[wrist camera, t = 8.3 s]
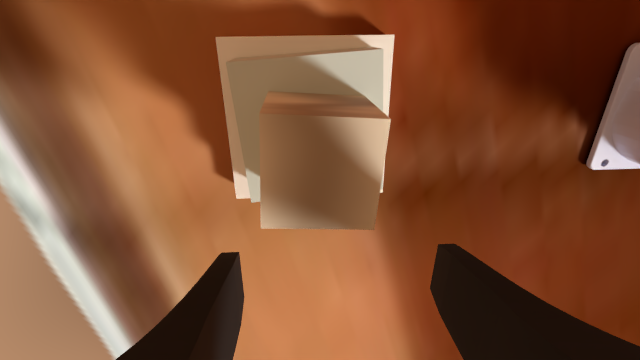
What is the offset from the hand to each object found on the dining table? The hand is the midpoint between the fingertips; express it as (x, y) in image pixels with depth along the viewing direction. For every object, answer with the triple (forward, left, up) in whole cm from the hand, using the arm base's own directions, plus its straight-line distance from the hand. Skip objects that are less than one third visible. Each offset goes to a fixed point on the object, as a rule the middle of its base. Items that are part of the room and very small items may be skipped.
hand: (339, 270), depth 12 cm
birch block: (+1, -3, -6) cm, 7 cm away
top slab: (+1, -3, -9) cm, 9 cm away
